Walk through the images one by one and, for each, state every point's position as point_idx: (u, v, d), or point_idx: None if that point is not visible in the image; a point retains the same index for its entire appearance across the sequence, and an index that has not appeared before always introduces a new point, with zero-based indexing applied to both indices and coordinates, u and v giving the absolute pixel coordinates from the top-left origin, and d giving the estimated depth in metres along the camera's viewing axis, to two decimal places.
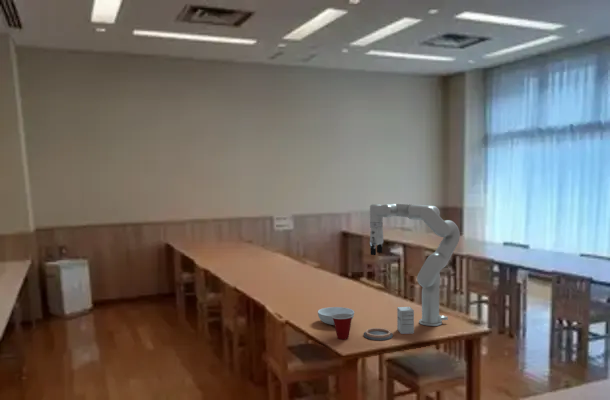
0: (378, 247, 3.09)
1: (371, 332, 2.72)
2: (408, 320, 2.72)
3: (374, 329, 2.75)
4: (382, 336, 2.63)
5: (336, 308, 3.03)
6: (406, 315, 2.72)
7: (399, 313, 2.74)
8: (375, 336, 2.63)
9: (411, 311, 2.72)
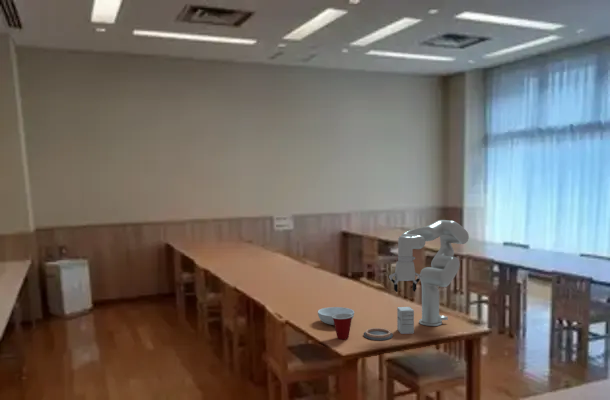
0: None
1: (371, 332, 2.72)
2: (408, 320, 2.72)
3: (374, 329, 2.75)
4: (382, 336, 2.63)
5: (336, 308, 3.03)
6: (406, 315, 2.72)
7: (399, 313, 2.74)
8: (375, 336, 2.63)
9: (411, 311, 2.72)
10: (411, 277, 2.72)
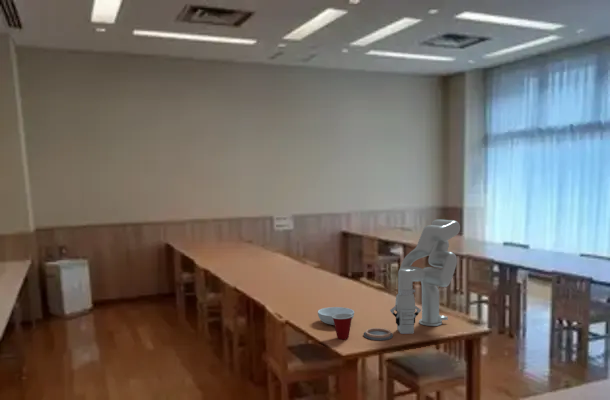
0: None
1: (371, 332, 2.72)
2: (408, 319, 2.72)
3: (374, 329, 2.75)
4: (382, 336, 2.63)
5: (336, 308, 3.03)
6: (406, 315, 2.72)
7: None
8: (375, 336, 2.63)
9: (411, 311, 2.72)
10: None
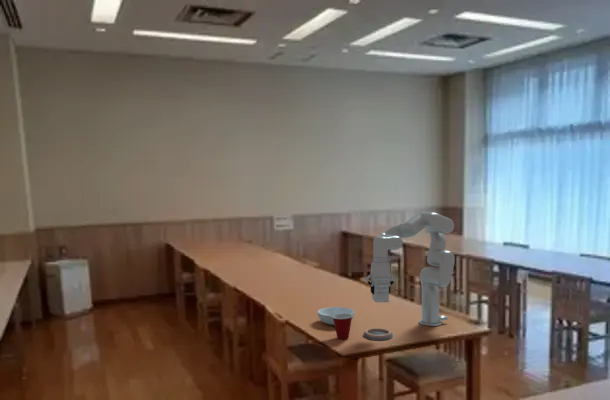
0: None
1: (371, 332, 2.72)
2: (383, 288, 2.65)
3: (374, 329, 2.75)
4: (382, 336, 2.63)
5: (336, 308, 3.03)
6: (381, 283, 2.65)
7: (374, 281, 2.67)
8: (375, 336, 2.63)
9: (386, 279, 2.65)
10: None
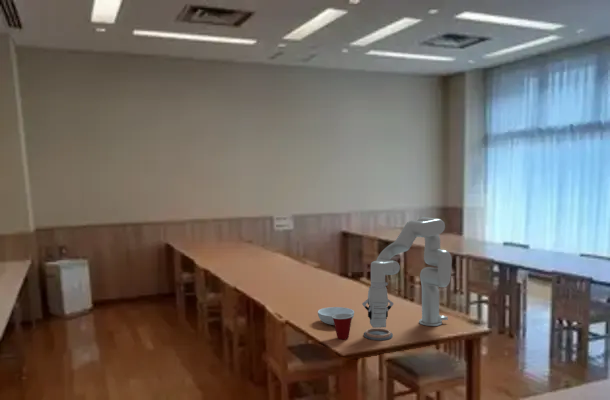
0: None
1: (371, 332, 2.72)
2: (381, 313, 2.65)
3: (374, 329, 2.75)
4: (382, 336, 2.63)
5: (336, 308, 3.03)
6: (378, 308, 2.65)
7: None
8: (375, 336, 2.63)
9: (383, 304, 2.65)
10: None
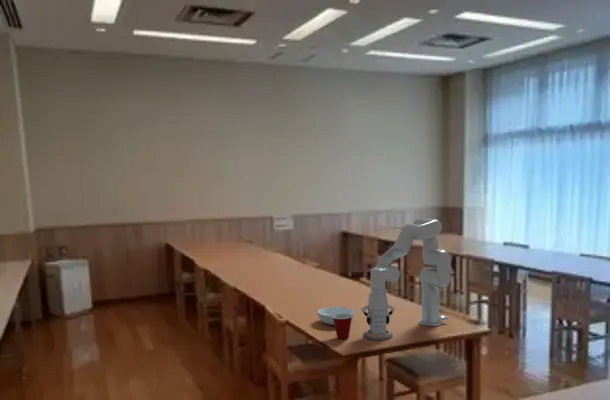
0: None
1: None
2: (381, 321, 2.65)
3: None
4: (382, 336, 2.63)
5: (336, 308, 3.03)
6: (378, 317, 2.65)
7: (371, 315, 2.67)
8: (375, 336, 2.63)
9: (383, 313, 2.65)
10: (383, 310, 2.67)
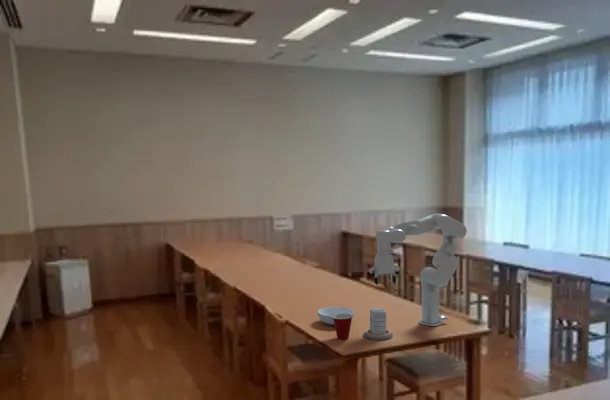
0: None
1: None
2: (380, 321, 2.65)
3: None
4: (382, 336, 2.63)
5: (336, 308, 3.03)
6: (378, 317, 2.65)
7: (371, 315, 2.67)
8: (375, 336, 2.63)
9: (383, 313, 2.65)
10: (390, 270, 2.78)
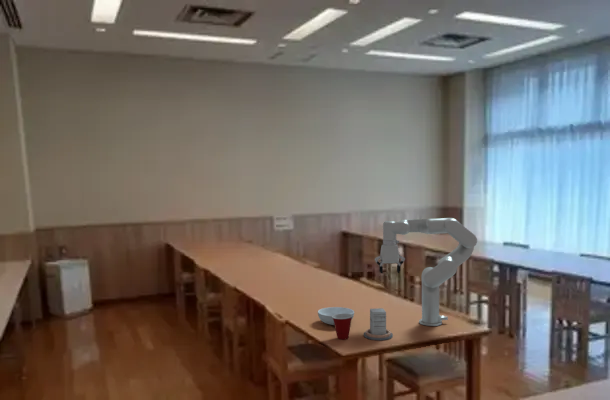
0: None
1: None
2: (380, 321, 2.65)
3: None
4: (382, 336, 2.63)
5: (336, 308, 3.03)
6: (378, 317, 2.65)
7: (371, 315, 2.67)
8: (375, 336, 2.63)
9: (383, 313, 2.65)
10: (395, 260, 2.91)
